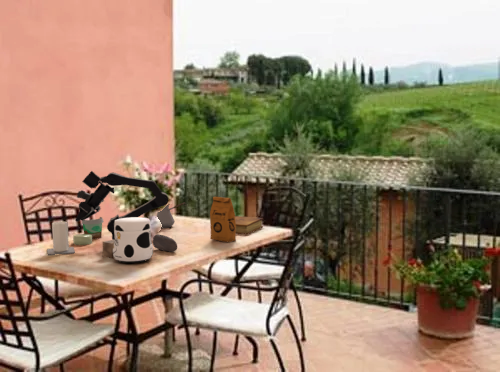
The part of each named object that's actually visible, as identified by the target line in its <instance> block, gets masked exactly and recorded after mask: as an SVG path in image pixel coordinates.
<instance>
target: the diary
mask: <svg viewBox="0 0 500 372" xmlns="http://www.w3.org/2000/svg"><path fill="white" fill-rule="evenodd" d="M262 221H264V218H263V217H256V216H255V217H253V216H239V215H237V216H236V215H235V222H236V235H249V234H251V233H253V231H254V232H255V230H256V231H257V230H260V229H262V228H263V227H264V225H262Z"/></svg>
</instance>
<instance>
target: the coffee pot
mask: <svg viewBox="0 0 500 372" xmlns="http://www.w3.org/2000/svg"><path fill="white" fill-rule="evenodd" d="M169 206H170V203H168V205H167V206H166V207H165V208H164V209H163V210H162V211H160V212H158V211H157V214H156V216H157V217H158V219H159V220H160V222H161V224H162V227H163V228H162V229H168V228H171V227H172V226H174V224H175V219H174V217H173V214H172V211H171V210H173V209H176V208H179V207H181V206H185V207H186V206H187V203H186V202H185V201H184V202H182V203H179V204H175V205H174V206H173V207H170V208H169Z"/></svg>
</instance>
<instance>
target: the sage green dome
mask: <svg viewBox="0 0 500 372" xmlns="http://www.w3.org/2000/svg"><path fill="white" fill-rule="evenodd" d="M72 238H73V239H72V241H73V245H74V244H75V246H87V244H88V245H91V244H93V239H92V235H91V234H84V233H78V234H74V235H73V236H72Z"/></svg>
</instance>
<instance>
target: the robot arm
mask: <svg viewBox="0 0 500 372" xmlns="http://www.w3.org/2000/svg"><path fill="white" fill-rule="evenodd" d="M82 183H83V184H84V185H86V186H87V187H89V188H90V189H91V190H92V189H95V190H94V191H93V192H91V193H88V192H86V190H78V192H77V193H76V195H77V196H76V198H77V199H82V200H83V201H80V203H78V209H79V212H78V214H77V216H76V219H75V222H77V223H78V222H80V221H81V222H82V221H83V220H88V218H90V217H92V216H94V215H95V214H96V215H97V213H99V212H100V211H101V209H102V208H101V206H100V205H101V204H102V203H103V202H105V199H106V198H107V196H108V195H109V194H110V193H112V194H115V192H116V191H115V186H116V187H117V186H129V187H136V188H144V189H149V190H150V191H151V193H152V194H153V195H154V196H153V197H152V198H151V199H150V200H149V201H148V202H146V203H144V204H142V205H140V206H138V207H137V208H135V209H133V210H131V211H130V212H127V213H126V214H124V215H119V214H116V215H115V216H114V217H110V220H109V221H108V223H107V226H106V230H108V232H109V233H111V240H115V236H114V223H115V220H117V219H121V218H130V217H141V216H143V215H144V214H147V213H148V212H150V211H151V210H153V209H157V208H158V209H159V207H161V206H164V205H166V204H167V203H168V204H169V196H168V194H167V193H166V192H163V191H162V190H161V188H160V187H159V186H158V185H157V183H156V181H155V180H152V179H151V180H150V179H143V178H135V177H128V176H124V175H122V174H121V173H116V172H109V173H108V174H107V175H106V176H102V177H100V176H99V175H98V174H96V173H95V171H93V170H91V171H90V172H89V173H88V174H87V175H86V176H85V177H84V179H83V180H82Z"/></svg>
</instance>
